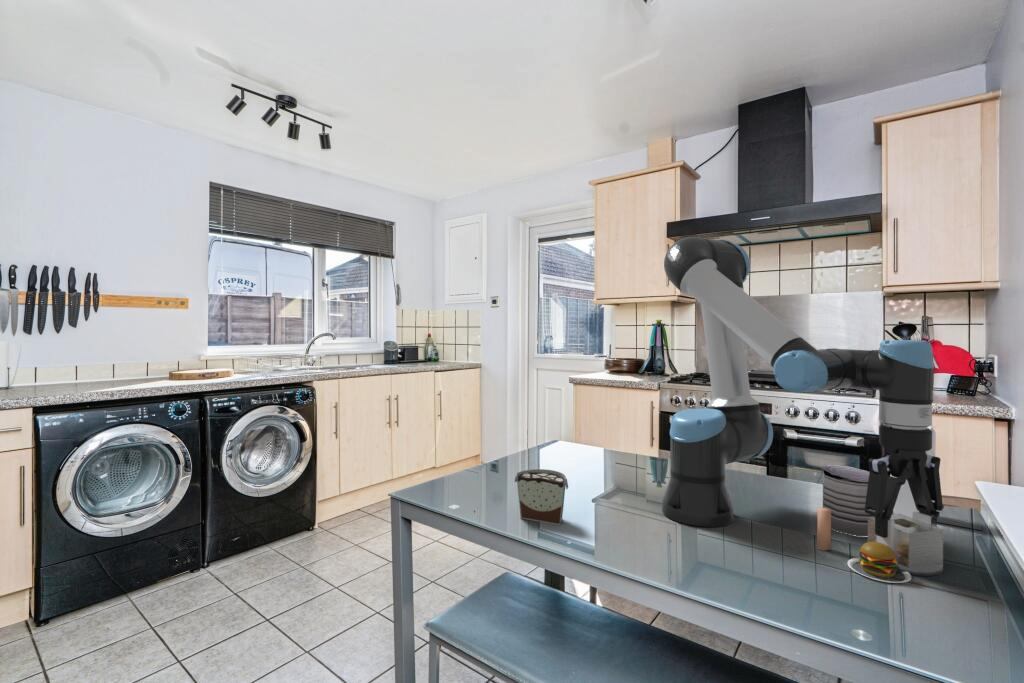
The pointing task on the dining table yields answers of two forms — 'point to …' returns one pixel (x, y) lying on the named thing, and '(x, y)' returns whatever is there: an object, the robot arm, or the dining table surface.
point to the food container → (541, 495)
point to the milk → (905, 497)
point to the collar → (913, 541)
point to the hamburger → (878, 561)
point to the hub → (922, 569)
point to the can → (846, 498)
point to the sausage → (824, 529)
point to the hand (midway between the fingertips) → (903, 551)
